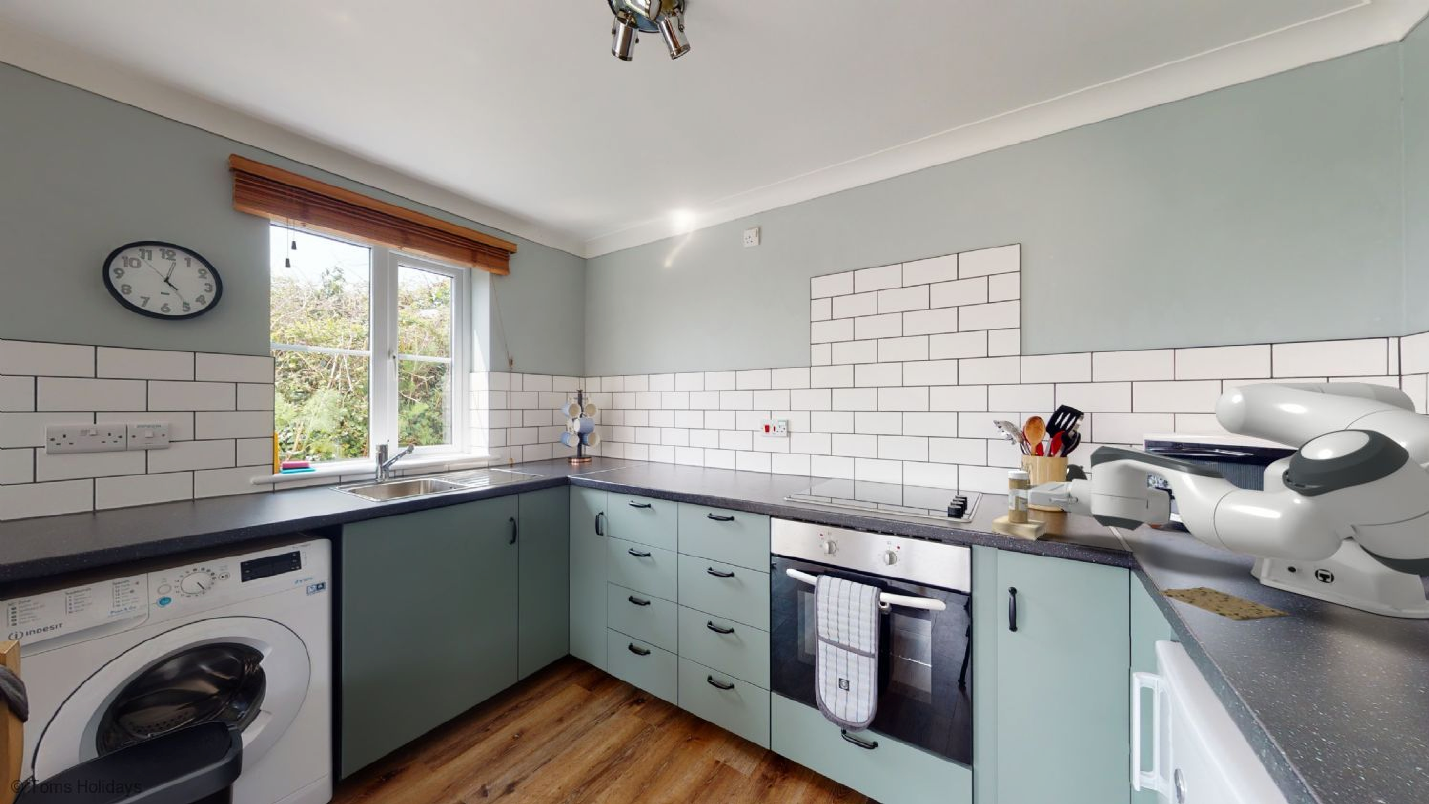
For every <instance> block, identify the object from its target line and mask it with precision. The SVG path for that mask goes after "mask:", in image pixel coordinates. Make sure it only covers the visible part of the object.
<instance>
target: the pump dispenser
mask: <svg viewBox="0 0 1429 804" xmlns="http://www.w3.org/2000/svg"><path fill="white" fill-rule="evenodd" d="M1066 465H1067V474H1066V482H1072V480H1073V479H1081V480H1089V479H1088V476H1087V474H1086V473H1085V471H1084V466H1083V465H1078V464H1074V463H1070V464H1066ZM1063 510H1064V511H1063ZM1063 510H1062V511H1063V512H1067V513H1071V511H1070V509H1068V508H1064V507H1063Z"/></svg>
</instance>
